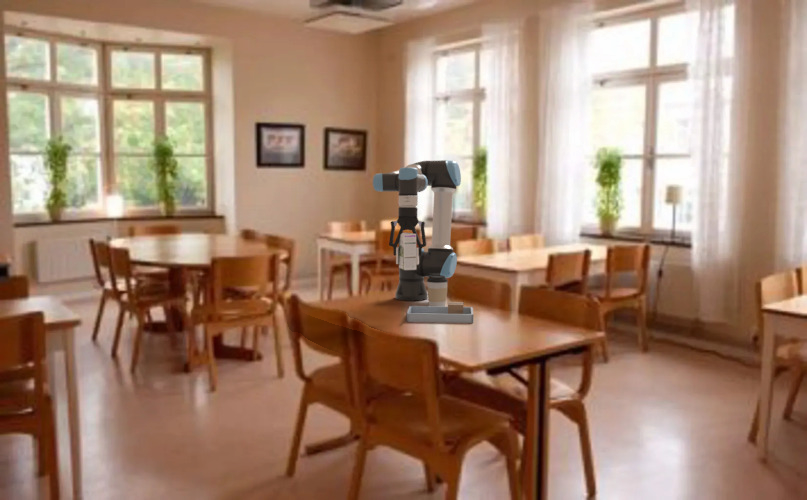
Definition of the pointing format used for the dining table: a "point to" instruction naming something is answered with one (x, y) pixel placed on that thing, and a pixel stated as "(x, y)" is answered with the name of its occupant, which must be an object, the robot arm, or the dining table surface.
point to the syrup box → (407, 251)
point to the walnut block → (455, 307)
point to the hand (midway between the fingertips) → (407, 263)
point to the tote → (438, 314)
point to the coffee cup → (437, 290)
